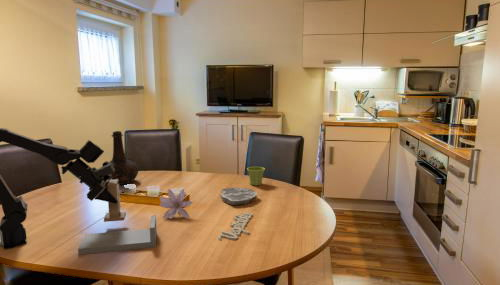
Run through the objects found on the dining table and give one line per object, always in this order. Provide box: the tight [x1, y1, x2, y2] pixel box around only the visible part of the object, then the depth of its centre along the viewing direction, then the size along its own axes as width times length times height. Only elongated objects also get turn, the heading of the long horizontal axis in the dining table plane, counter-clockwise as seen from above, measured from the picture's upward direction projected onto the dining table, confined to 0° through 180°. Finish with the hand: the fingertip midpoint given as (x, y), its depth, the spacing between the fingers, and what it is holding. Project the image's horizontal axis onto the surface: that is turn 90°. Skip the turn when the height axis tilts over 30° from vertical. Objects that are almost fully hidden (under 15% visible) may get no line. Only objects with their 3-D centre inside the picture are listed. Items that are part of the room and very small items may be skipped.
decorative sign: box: [217, 211, 253, 241], centre depth 136 cm, size 26×1×10 cm
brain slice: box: [220, 187, 258, 206], centre depth 167 cm, size 20×17×3 cm
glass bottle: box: [108, 130, 139, 185], centre depth 190 cm, size 18×18×28 cm
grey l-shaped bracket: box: [77, 214, 158, 256], centre depth 121 cm, size 24×11×7 cm, turn 103°
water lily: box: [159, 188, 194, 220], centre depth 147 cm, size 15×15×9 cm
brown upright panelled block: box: [103, 179, 127, 223], centre depth 133 cm, size 6×7×14 cm
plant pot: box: [246, 166, 266, 187], centre depth 189 cm, size 9×9×9 cm
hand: (118, 199), depth 133 cm, fingers closed on brown upright panelled block, 6 cm apart
